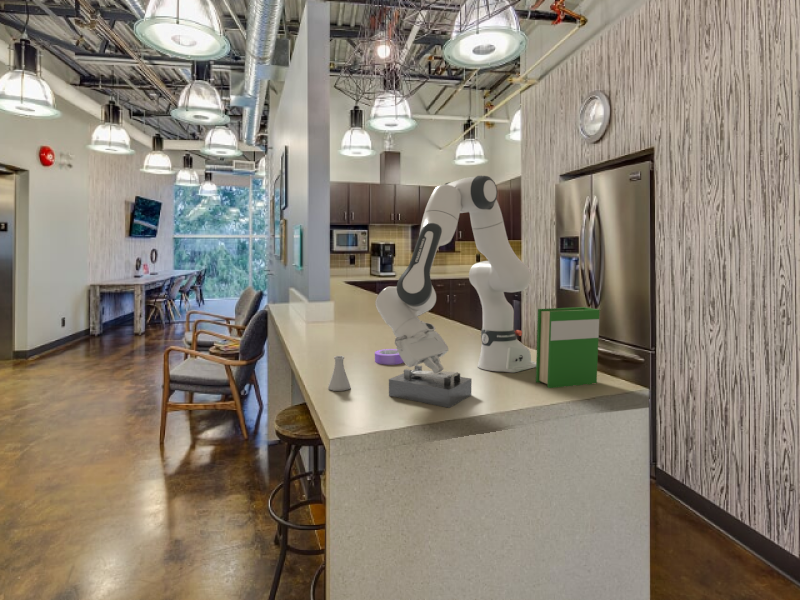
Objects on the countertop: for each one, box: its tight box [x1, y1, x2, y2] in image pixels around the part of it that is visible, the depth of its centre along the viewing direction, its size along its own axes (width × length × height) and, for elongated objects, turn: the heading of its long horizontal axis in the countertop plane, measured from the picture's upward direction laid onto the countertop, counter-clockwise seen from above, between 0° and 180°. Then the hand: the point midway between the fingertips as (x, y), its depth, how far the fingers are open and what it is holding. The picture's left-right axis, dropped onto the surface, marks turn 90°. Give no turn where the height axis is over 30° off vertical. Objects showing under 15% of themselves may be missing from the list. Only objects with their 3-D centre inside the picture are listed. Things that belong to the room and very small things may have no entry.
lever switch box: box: [388, 364, 472, 409], centre depth 141 cm, size 20×14×8 cm
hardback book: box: [535, 306, 601, 389], centre depth 154 cm, size 18×7×24 cm, turn 107°
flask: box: [327, 355, 351, 392], centre depth 148 cm, size 7×7×10 cm
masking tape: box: [374, 348, 404, 366], centre depth 186 cm, size 12×12×4 cm
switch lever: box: [411, 369, 459, 378], centre depth 140 cm, size 15×4×1 cm, turn 56°
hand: (439, 371), depth 138 cm, fingers closed, pressing on switch lever
